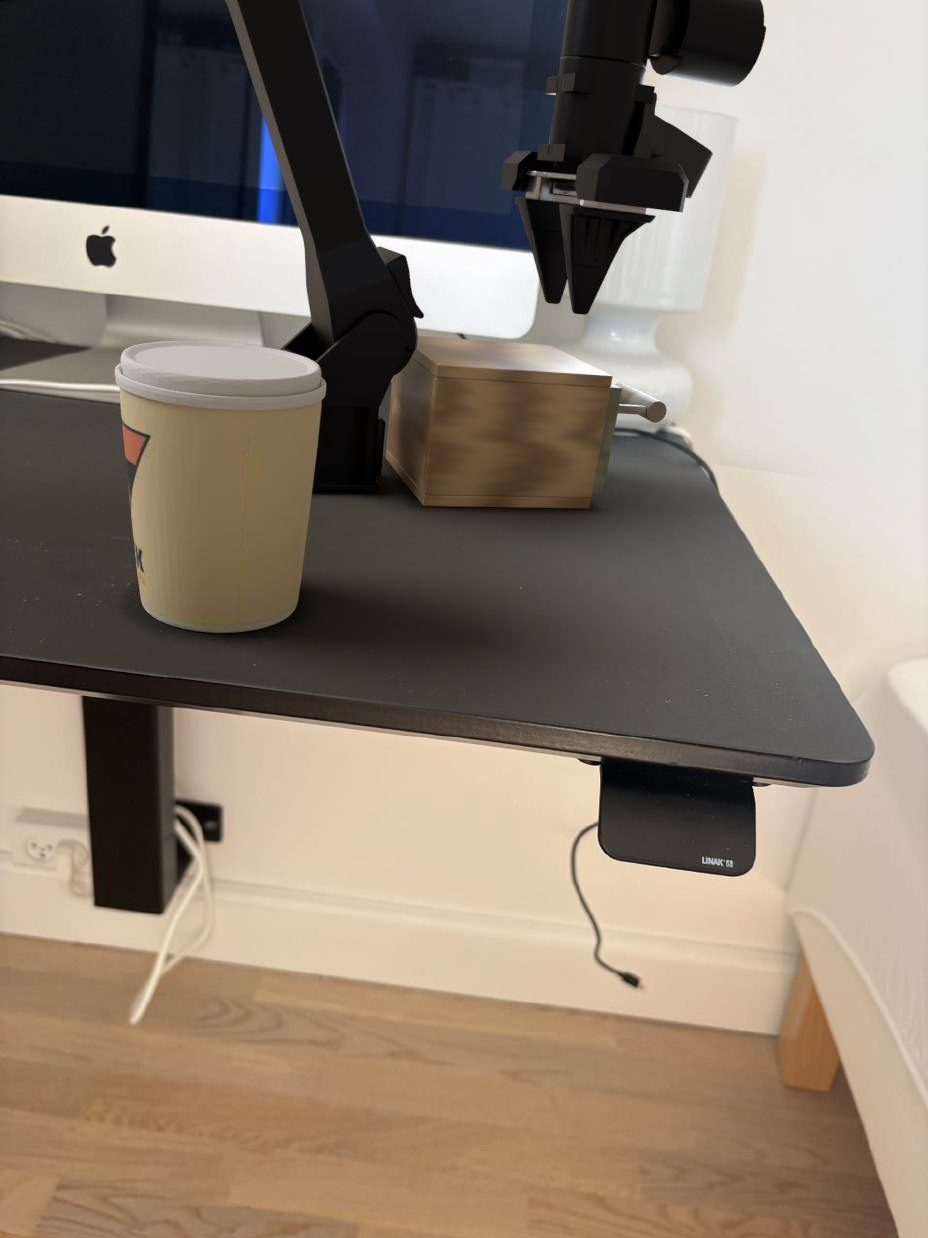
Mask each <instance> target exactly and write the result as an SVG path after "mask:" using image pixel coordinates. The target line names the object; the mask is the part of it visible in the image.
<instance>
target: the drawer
mask: <svg viewBox="0 0 928 1238" xmlns="http://www.w3.org/2000/svg"><path fill="white" fill-rule="evenodd" d="M667 412H668V411H667V406H666V404H665V403H664V402H663V401H661V400H659V399H657V398H655V397H653V396H651V395H649V394H647V393H645V392H643V391H641V390H639V389H637V388H635V387H633V386H631V385H629V384H627V383H625V382H617V383H611V387H610V393H609V399H608V405H607V410H606V416H605V422H604V427H603V433H602V439H601V444H600V450H599V456H598V461H597V467H596V473H595V478H594V484H593V490H592V495H604V491H605V485H606V480H607V474H608V469H609V464H610V459H611V454H612V447H613V441H614V435H615V430H616V424H617V419H618V414H622V415H637V416H640V417H641V418H644V419H645V420H647V421H649V422H651V423H659V422H662V421H663V420H664V419H665V417H666V416H667Z"/></svg>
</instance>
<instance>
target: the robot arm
mask: <svg viewBox="0 0 928 1238" xmlns="http://www.w3.org/2000/svg"><path fill="white" fill-rule="evenodd" d="M224 1H225V3H226V6H227V7H228V11H229V13H230V17H231V21H232V24H233V26H234V30H235V32H236V35H237V39H238V42H239V46H240V48H241V51H242V54H243V58H244V61H245V65H246V67H247V69H248V73H249V76H250V79H251V82H252V85H253V88H254V91H255V94H256V97H257V101H258V104H259V107H260V111H261V114H262V116H263V120H264V122H265V125H266V128H267V131H268V135H269V139H270V141H271V145H272V147H273V150H274V154H275V156H276V159H277V162H278V166H279V169H280V172H281V175H282V178H283V181H284V185H285V187H286V190H287V193H288V196H289V199H290V202H291V206H292V209H293V212H294V215H295V218H296V221H297V224H298V227H299V230H300V234H301V237H302V241H303V249H304V266H305V287H306V289H305V290H306V295H307V300H308V308H309V313H310V321H309V322H308V323H307V324H306V325H305V326H304V327H303V328H302V329H300V330H299V331H298V332H297V333H295V335H294V336H292V338H290V340H288V341H287V342H286V343H285V344H284V345H282V347H280V349H279V350H282V351H287V352H290V353H294V354H298V355H301V356H304V357H306V358H309V359H311V360H312V361H314V362H316V363H317V364H318V365H319V367H320V368H321V377H322V378H323V379H324V380H325V382H326V394H325V397H324V398H323V399H322V402H321V416H320V426H319V435H318V445H317V454H316V462H315V471H314V479H313V488H312V491H337V492H338V491H341V492H342V491H345V492H378V491H380V482H379V481H378V480H377V478H379V477H380V476H381V475H382V471H383V459H384V447H385V435H386V434H385V433H386V421H385V420H384V418H383V417H382V416H381V415H380V414H379V413H380V406H381V405H382V403H383V400H384V398H385V396H386V394H387V391H388V389H389V387H390V384H391V383H392V378H393V376H394V375H396V374H398V373H399V372H400V371H401V370H402V369H403V368H404V367H405V366H406V365H407V364H408V363H409V361H410V359H411V357H412V355H413V353H414V351H415V350H416V348H417V343H418V336H419V333H418V326H417V322H416V319H420V320H422V319H424V317H425V314H424V312H423V311H422V309H421V308H420V307H419V305H418V304H417V301H416V299H415V296H414V294H413V290H412V283H411V273H410V267H409V263H408V259H407V256H406V255H404V254H402V253H400V252H397V251H394V250H392V249H389V248H386V247H383V246H381V245H379V246H377V245H376V243H375V241H374V239H373V238H372V236H371V234H370V233H369V230H368V228H367V225H366V222H365V218H364V214H363V212H362V208H361V205H360V200H359V198H358V194H357V191H356V187H355V184H354V181H353V177H352V174H351V170H350V166H349V163H348V160H347V156H346V153H345V149H344V146H343V142H342V139H341V135H340V131H339V128H338V125H337V122H336V118H335V114H334V112H333V107H332V105H331V101H330V98H329V97H330V96H329V94H328V91H327V90H328V89H327V87H326V83H325V80H324V77H323V73H322V69H321V66H320V63H319V59H318V56H317V51H316V49H315V45H314V42H313V38H312V35H311V32H310V27H309V25H308V21H307V18H306V13H305V10H304V7H303V4H302V0H224ZM565 15H566V16H565V24H564V29H563V37H562V44H561V45H562V46H561V53H560V60H559V67H558V75H552V76H548V77H547V81H546V89H545V95H550V96H554V97H555V98H554V104H553V111H552V117H551V125H550V133H549V138H548V139H549V141H548V143H539V144H538V147H537V151H531V150H515V151H514V152H513V153H512V154H511V155H510V156H509V157H508V158H506V159H505V160H504V161H503V162H502V171H501V177H500V178H501V179H500V185H499V189H500V190H508V191H515V192H524V193H525V195H524V196H525V197H520V196H514V203H515V205H517V206H518V210H519V213H520V216H521V219H522V222H523V226H524V229H525V232H526V235H527V239H528V241H529V245H530V249H531V253H532V257H533V260H534V264H535V268H536V271H537V275H538V279H539V283H540V287H541V290H542V294H543V298H544V301H545V302H546V303H547V304H549V305H550V304H551V305H552V304H553V305H559V304H560V303H561V301H562V299H563V297H564V292H565V289H566V286H568V294H569V301H570V307H571V312H572V314H575V315H584V316H585V315H588V314H589V313H590V311H591V309H592V307H593V304H594V302H595V300H596V298H597V296H598V293H599V291H600V289H601V287H602V285H603V284H604V281H605V279H606V276H607V274H608V272H609V270H610V268H611V266H612V264H613V261H614V260H615V258H616V256H617V254H618V252H619V251H620V248H621V246H622V244H623V243H624V241H625V240H626V239H627V238H628V237H629V236H630V235H632V234H633V233H634V232H636V231H637V230H639V229H640V228H641V227H643V226H644V225H646V224H651V223H653V222H654V220H655V219H656V217H657V215H655V214H649V213H648V214H647V209H651V210H659V211H667V212H675V213H683V212H684V209H685V203H686V199H691V198H692V197H693V195H694V193H695V191H696V189H697V187H698V185H699V183H700V181H701V180H702V177H703V176H704V173H705V171H706V169H707V168H708V166H709V164H710V161H711V159H712V157H713V156H714V152H713V151H712V150H711V149H709V148H708V147H706V146H705V144H702V143H700V142H699V141H698V140H696V139H695V138H693V137H692V136H690V135H689V134H688V133H686V132H685V131H683V130H681V128H679V127H677V126H675V125H674V124H672V123H670V122H668V121H665V120H664V119H663V118H661V117H659V116H658V115H656V107H657V106H656V105H657V100H658V95H657V92H655V90H656V89H655V88H656V86H653V85H649V84H645V78H646V72H647V65H648V60H649V62H650V65H651V69H652V70H653V71H654V72H655V73H656V74H658V75H660V76H664V77H670V78H675V79H681V80H684V81H685V80H686V81H690V82H696V83H702V84H706V85H707V84H708V85H713V86H719V87H724V88H735V87H736V86H738V85H740V84H741V83H742V82H743V81H744V80H746V78H747V77H748V76H749V75H750V73H751V72H752V70H753V68H754V67H755V65H756V64H757V62H758V59H759V56H760V55H761V52H762V49H763V46H764V42H765V38H766V32H767V27H766V25H765V11H764V5H763V3H762V0H567V9H566V14H565ZM582 201H583V203H582ZM581 203H582V204H581ZM415 318H416V319H415Z"/></svg>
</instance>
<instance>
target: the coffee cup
mask: <svg viewBox="0 0 928 1238" xmlns="http://www.w3.org/2000/svg"><path fill="white" fill-rule="evenodd" d="M114 379H115V383H116V385H117V386H118V387H119V403H120V415H121V425H122V435H123V436H122V437H123V445H124V446H123V447H124V457H125V459H124V460H125V467H126V468H125V469H126V478H127V479H126V480H127V487H128V499H129V507H130V517H131V527H132V537H133V544H134V545H133V546H134V555H135V565H136V572H137V580H138V588H139V595H140V596H139V597H140V602H141V604H142V607H143V608H144V610H145V611H146V612H147V613H148V614H149V615H150V616H151V617H152V618H154V619H156V620H158V621H159V622H162V623H164V624H166V625H169V626H171V627H176V628H179V629H182V630H189V631H193V632H202V633H203V632H204V633H214V634H215V633H216V634H220V633H221V634H226V633H227V634H228V633H242V632H250V631H255V630H256V631H257V630H260V629H265V628H268V627H270V626H274V625H276V624H278V623H281V622H282V621H285V620H286V619H288V618H289V617H290V616H291V615H292V614H293V613H294V612H295V610H296V608H297V605H298V603H299V597H300V589H301V583H302V579H303V578H302V576H303V569H304V562H305V560H304V559H305V552H306V546H307V545H306V544H307V537H308V528H309V520H310V514H311V513H310V511H311V506H312V505H311V504H312V495H313V490H312V488H313V479H314V471H315V462H316V454H317V445H318V435H319V426H320V416H321V402H322V399H323V398H324V397H325V394H326V382H325V380H324V379H323V378H322V377H321V368H320V367H319V365H318V364H317V363H316V362H314V361H312V360H311V359H309V358H306V357H304V356H301V355H298V354H294V353H290V352H287V351H282V350H280V349H276V348H272V347H266V346H258V345H251V344H244V343H235V342H225V341H211V340H210V341H209V340H164V341H163V340H162V341H160V340H159V341H152V342H144V343H139V344H135V345H131V346H128V347H127V348H124V350H122V353H121V354H120V362H119V363H118V364H117V365H116V366H115V368H114Z"/></svg>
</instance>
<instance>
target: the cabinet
mask: <svg viewBox="0 0 928 1238" xmlns="http://www.w3.org/2000/svg"><path fill="white" fill-rule="evenodd" d="M612 382H613V375H611V374H609V373H607V372H605V371H603V370H601V369H599V368H597V367H595V366H593V365H591V364H589V363H587V362H585V361H583V360H580V359H579V358H577V357H575V356H573V355H570V353H566V352H565V351H563V350H561V349H559V348H556V347H555V346H553V345H549V344H537V343H523V342H509V341H495V340H481V339H470V338H469V339H468V338H453V337H442V336H441V337H439V336H426V335H418V343H417V348H416V350H415V351H414V353H413V355H412V357H411V359H410V361H409V363H408V364H407V365H406V366H405V367H404V368H403V369H402V370H401V371H400V372H399V373H398V374H396V375H394V376H393V378H392V380H391V389H390V401H389V402H390V403H389V413H388V414H389V415H388V426H387V437H386V438H387V439H386V450H385V460H386V461H387V462H388V463H389V465H390V466H391V467H392V468H393V469H394V471H395V472H396V474H397V475H398V476H399V477H400V479H401V480H402V481H403V482H404V483H405V485H406V486H407V487H408V488H409V490H410V491H411V492H412V494H413V495H414V496H415V498H416V499H417V500H418V501H419V502H420V504H421V505H422V506H423V507H454V508H455V507H461V508H462V507H463V508H464V507H465V508H466V507H467V508H521V509H522V508H525V509H526V508H528V509H529V508H530V509H531V508H532V509H533V508H534V509H535V508H536V509H590V506H591V501H592V495H593V494H592V490H593V484H594V478H595V473H596V467H597V461H598V456H599V450H600V444H601V439H602V433H603V427H604V422H605V416H606V410H607V405H608V399H609V393H610V387H611V383H612Z"/></svg>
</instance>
